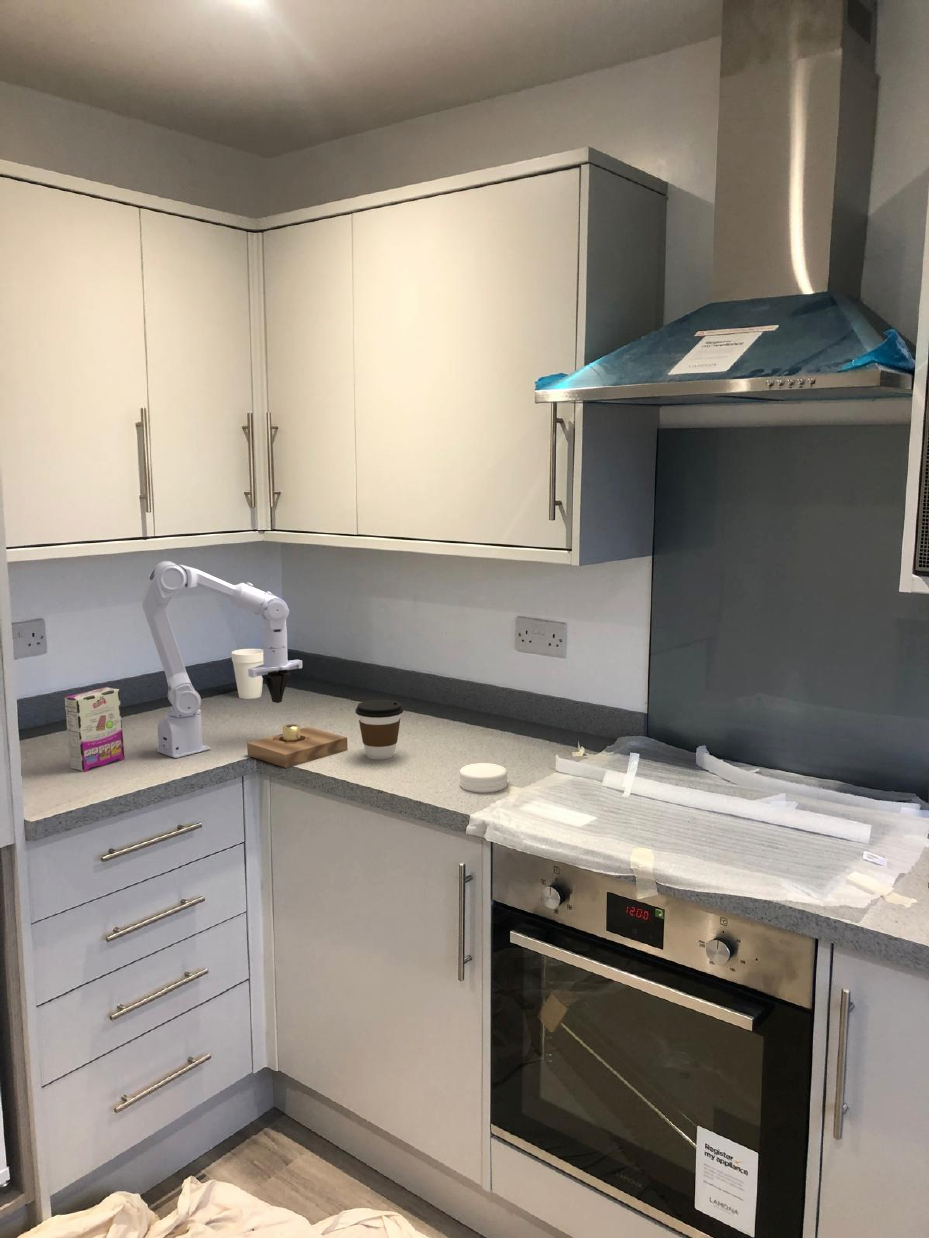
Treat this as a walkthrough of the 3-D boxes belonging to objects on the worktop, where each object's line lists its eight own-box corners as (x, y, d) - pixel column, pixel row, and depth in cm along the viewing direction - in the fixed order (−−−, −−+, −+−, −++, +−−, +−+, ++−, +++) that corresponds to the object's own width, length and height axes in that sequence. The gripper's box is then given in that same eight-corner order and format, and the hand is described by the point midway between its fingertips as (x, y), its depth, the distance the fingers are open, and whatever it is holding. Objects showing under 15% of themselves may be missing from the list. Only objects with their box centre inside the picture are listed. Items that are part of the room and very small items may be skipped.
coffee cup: (401, 747, 228) (400, 697, 227) (406, 761, 218) (406, 709, 216) (355, 749, 227) (353, 699, 225) (357, 764, 216) (356, 711, 214)
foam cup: (273, 693, 282) (271, 649, 280) (255, 701, 273) (253, 655, 271) (245, 691, 285) (243, 647, 283) (226, 698, 277) (224, 653, 275)
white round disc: (496, 796, 196) (496, 779, 195) (451, 789, 199) (451, 773, 199) (514, 781, 205) (514, 765, 204) (470, 775, 209) (470, 759, 208)
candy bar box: (110, 755, 222) (106, 686, 220) (125, 759, 220) (121, 688, 217) (68, 768, 213) (63, 696, 210) (82, 772, 210) (77, 699, 208)
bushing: (291, 754, 223) (290, 729, 222) (279, 751, 226) (279, 726, 225) (304, 750, 226) (303, 725, 225) (293, 747, 229) (292, 722, 228)
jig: (285, 767, 213) (285, 754, 213) (247, 755, 223) (247, 742, 222) (347, 749, 227) (347, 737, 226) (308, 738, 236) (308, 726, 235)
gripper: (260, 652, 224) (262, 710, 226) (309, 644, 234) (311, 699, 236) (242, 649, 228) (244, 705, 230) (291, 640, 239) (293, 694, 241)
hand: (276, 701), depth 234 cm, fingers closed
